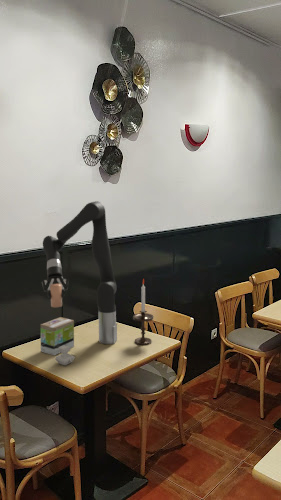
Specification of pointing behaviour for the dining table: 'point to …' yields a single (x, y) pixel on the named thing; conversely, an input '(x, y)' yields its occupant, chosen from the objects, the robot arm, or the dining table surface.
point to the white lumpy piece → (64, 356)
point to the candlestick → (143, 319)
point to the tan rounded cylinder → (56, 295)
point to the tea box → (57, 335)
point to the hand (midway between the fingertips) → (56, 297)
